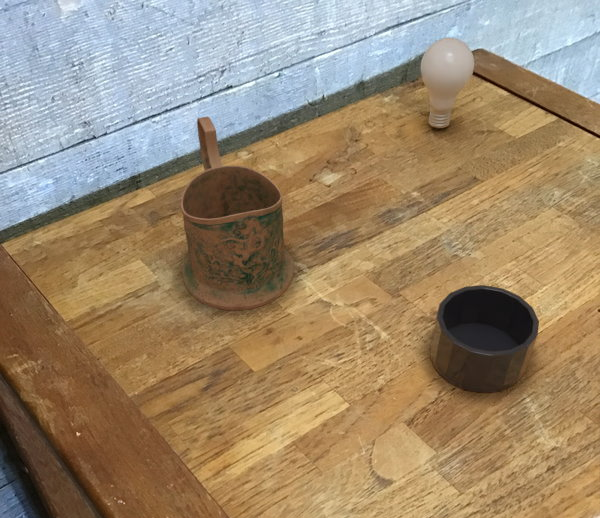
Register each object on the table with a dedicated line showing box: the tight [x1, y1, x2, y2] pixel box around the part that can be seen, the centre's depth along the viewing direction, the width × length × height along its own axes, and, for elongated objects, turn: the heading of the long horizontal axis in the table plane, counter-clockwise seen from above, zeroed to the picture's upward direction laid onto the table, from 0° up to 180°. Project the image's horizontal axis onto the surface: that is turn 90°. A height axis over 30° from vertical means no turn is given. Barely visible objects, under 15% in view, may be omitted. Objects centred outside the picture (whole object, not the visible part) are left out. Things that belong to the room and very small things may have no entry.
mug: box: [180, 116, 295, 311], centre depth 74 cm, size 12×18×12 cm, turn 18°
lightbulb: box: [419, 37, 475, 130], centre depth 90 cm, size 6×6×11 cm
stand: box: [430, 284, 540, 394], centre depth 67 cm, size 9×9×5 cm
